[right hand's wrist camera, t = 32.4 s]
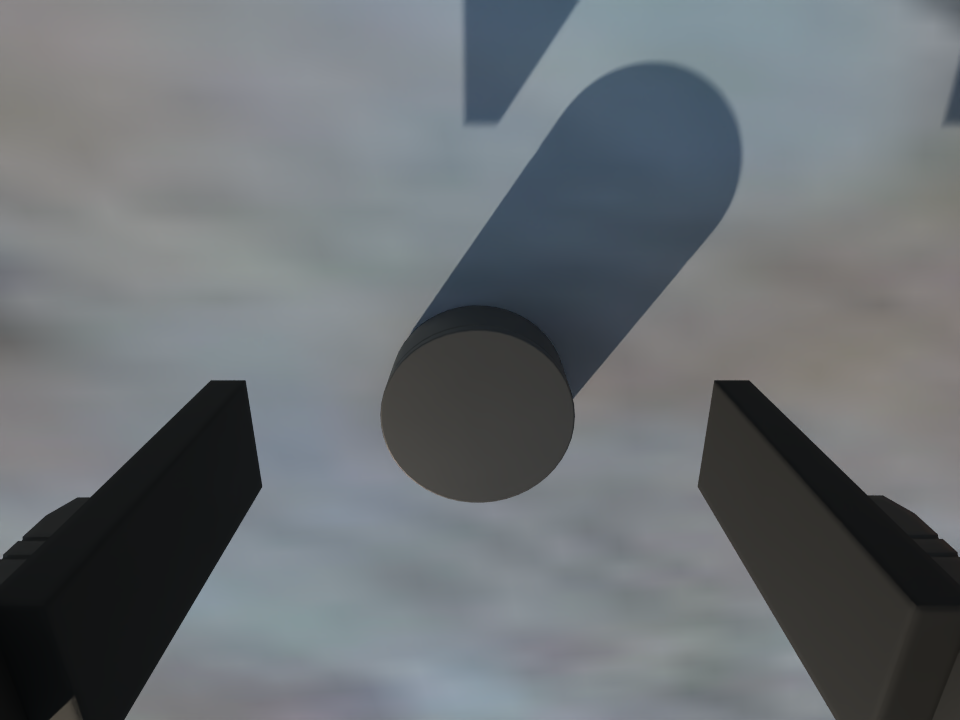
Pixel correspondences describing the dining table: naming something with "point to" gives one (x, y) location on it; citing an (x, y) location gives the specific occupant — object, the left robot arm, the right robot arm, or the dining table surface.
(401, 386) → the cap
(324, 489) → the dining table surface
